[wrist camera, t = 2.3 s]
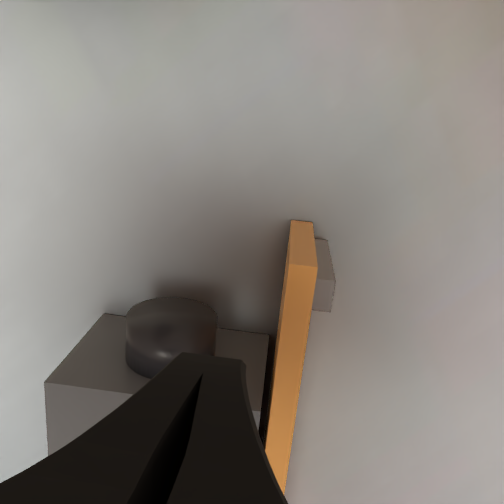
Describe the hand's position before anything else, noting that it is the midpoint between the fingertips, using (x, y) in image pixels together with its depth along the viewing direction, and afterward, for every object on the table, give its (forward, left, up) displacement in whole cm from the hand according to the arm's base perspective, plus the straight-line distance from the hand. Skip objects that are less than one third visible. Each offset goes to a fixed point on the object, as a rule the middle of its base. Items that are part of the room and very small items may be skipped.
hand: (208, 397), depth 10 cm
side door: (-6, -2, -9) cm, 11 cm away
